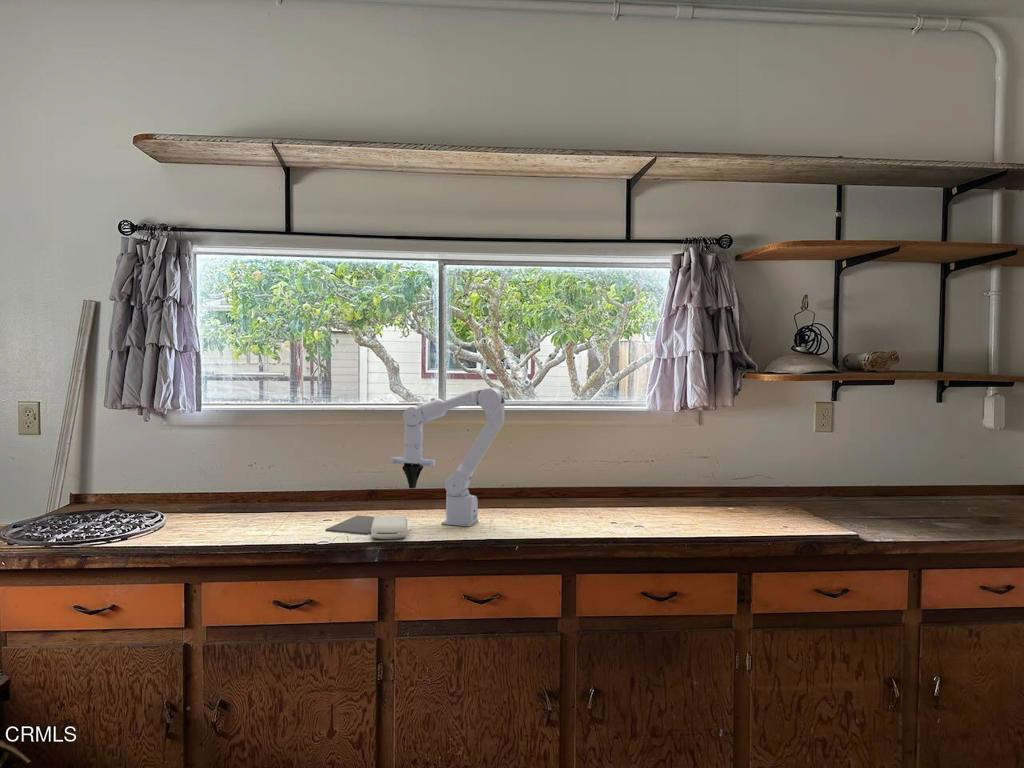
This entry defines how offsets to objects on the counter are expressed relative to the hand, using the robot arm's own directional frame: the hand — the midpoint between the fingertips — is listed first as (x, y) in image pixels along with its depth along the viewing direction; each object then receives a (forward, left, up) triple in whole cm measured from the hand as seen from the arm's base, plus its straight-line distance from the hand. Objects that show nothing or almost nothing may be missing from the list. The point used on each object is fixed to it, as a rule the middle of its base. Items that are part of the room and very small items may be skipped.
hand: (412, 487), depth 199 cm
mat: (+12, +10, -10) cm, 19 cm away
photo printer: (+2, +12, -8) cm, 14 cm away
